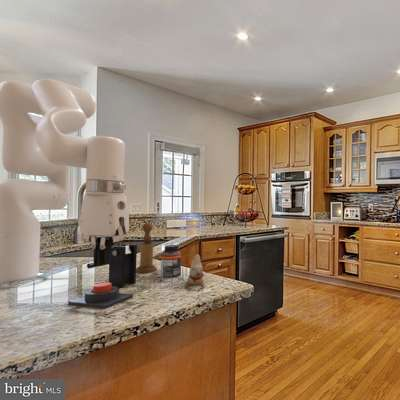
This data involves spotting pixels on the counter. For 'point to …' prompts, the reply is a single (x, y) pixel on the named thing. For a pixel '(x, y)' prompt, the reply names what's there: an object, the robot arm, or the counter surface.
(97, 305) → the button box
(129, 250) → the lever
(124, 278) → the bracket
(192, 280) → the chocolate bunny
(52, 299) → the counter surface
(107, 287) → the button
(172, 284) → the counter surface
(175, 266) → the supplement bottle
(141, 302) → the counter surface
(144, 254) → the brown chess piece
